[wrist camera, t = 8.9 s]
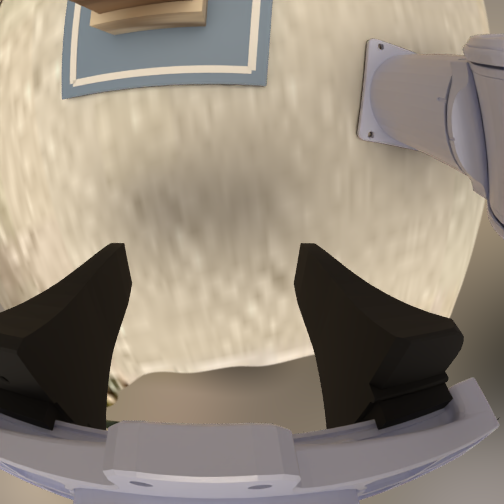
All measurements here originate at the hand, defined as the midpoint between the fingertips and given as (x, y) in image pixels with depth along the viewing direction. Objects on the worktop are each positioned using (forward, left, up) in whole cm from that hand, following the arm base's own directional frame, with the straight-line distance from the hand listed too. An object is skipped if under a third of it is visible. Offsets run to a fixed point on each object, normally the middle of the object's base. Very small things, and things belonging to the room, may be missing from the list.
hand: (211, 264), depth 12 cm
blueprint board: (+4, -14, -10) cm, 18 cm away
